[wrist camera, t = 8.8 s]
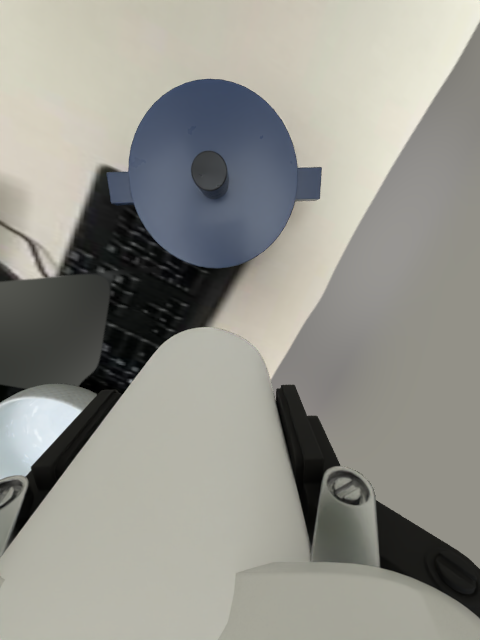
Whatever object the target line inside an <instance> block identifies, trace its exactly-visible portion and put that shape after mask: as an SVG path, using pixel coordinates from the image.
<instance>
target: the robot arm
mask: <svg viewBox="0 0 480 640" xmlns="http://www.w3.org/2000/svg"><path fill="white" fill-rule="evenodd" d="M121 396H122V394H121V393H119V392H118V391H117V390H102V391H100V392H99V393H98V395H97V396H96V397H95V398H94V399H93V400H92V401H91V402H90V403H89V404H88V405H87V406H86V408H85V409H84V410H83V411H82V412H81V413H80V414H79V415H78V416H77V417H76V418H75V419H74V421H73V422H72V423H71V424H70V425H69V426H68V427H67V428H66V429H65V430H64V431H63V432H62V434H61V435H60V436H59V437H58V438H57V439H56V440H55V441H54V442H53V443H52V444H51V445H50V447H49V448H48V449H47V450H46V451H45V452H44V453H43V454H42V455H41V456H40V457H39V458H38V460H37V461H36V462H35V463H34V464H33V465H32V466H31V471H30V472H29V473H28V474H27V476H26V477H25V476H22V475H14V476H9V477H6V478H3V479H0V558H1V556H2V555H3V554H4V552H5V551H6V550H7V548H8V547H9V545H10V544H11V543H12V541H13V540H14V539H15V537H16V536H17V535H18V533H19V532H20V531H21V529H22V528H23V527H24V525H25V524H26V523H27V521H28V520H29V519H30V517H31V516H32V515H33V513H34V512H35V511H36V509H37V508H38V507H39V505H40V504H41V503H42V501H43V500H44V499H45V497H46V496H47V495H48V493H49V492H50V491H51V489H52V488H53V487H54V485H55V484H56V483H57V481H58V480H59V478H60V477H61V476H62V474H63V473H64V472H65V470H66V469H67V468H68V466H69V465H70V464H71V462H72V461H73V460H74V458H75V457H76V456H77V454H78V453H79V452H80V450H81V449H82V448H83V447H84V445H85V444H86V443H87V441H88V440H89V439H90V437H91V436H92V435H93V433H94V432H95V431H96V429H97V428H98V427H99V425H100V424H101V423H102V421H103V420H104V419H105V417H106V416H107V415H108V413H109V412H110V411H111V409H112V408H113V407H114V405H115V404H116V403H117V401H118V400H119V399H120V397H121ZM276 404H277V408H278V412H279V416H280V420H281V425H282V429H283V433H284V437H285V441H286V445H287V449H288V453H289V457H290V461H291V465H292V470H293V474H294V478H295V482H296V486H297V490H298V494H299V498H300V503H301V507H302V511H303V515H304V519H305V523H306V528H307V532H308V536H309V540H310V544H311V548H312V549H311V555H310V561H311V562H272V563H268V564H265V565H261V566H257V567H254V568H251V569H247V570H244V571H241V572H238V573H236V576H235V588H234V595H233V600H232V605H231V610H230V614H229V619H228V623H227V625H226V626H225V628H224V630H223V632H222V633H221V635H220V637H219V638H218V640H480V569H479V568H478V567H477V566H476V565H475V564H474V563H473V562H472V561H471V560H470V559H469V558H467V557H466V556H465V555H463V554H462V553H460V552H459V551H458V550H456V549H454V548H453V547H451V546H450V545H448V544H446V543H445V542H443V541H441V540H440V539H438V538H437V537H435V536H433V535H432V534H430V533H428V532H427V531H425V530H424V529H422V528H420V527H419V526H417V525H415V524H414V523H412V522H411V521H409V520H407V519H406V518H404V517H402V516H401V515H399V514H398V513H396V512H394V511H393V510H391V509H389V508H388V507H386V506H385V505H383V504H381V503H380V502H378V501H376V499H375V492H374V489H373V487H372V485H371V483H370V482H369V481H368V480H367V479H366V478H365V477H364V476H363V475H362V474H360V473H359V472H358V471H356V470H353V469H351V468H348V467H343V466H340V464H339V461H338V460H337V457H336V455H335V453H334V451H333V448H332V446H331V444H330V442H329V440H328V438H327V436H326V434H325V431H324V429H323V427H322V425H321V423H320V421H319V419H318V417H317V416H307V415H306V412H305V410H304V407H303V405H302V402H301V400H300V397H299V395H298V392H297V390H296V387H295V385H281V388H280V389H277V391H276ZM4 581H5V579H3V578H2V577H1V576H0V587H1V585H2V584H3V582H4Z"/></svg>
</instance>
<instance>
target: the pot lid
mask: <svg viewBox="0 0 480 640" xmlns="http://www.w3.org/2000/svg"><path fill="white" fill-rule="evenodd" d="M128 174H129V186H130V191H131V196H132V199H133V202H134V206H135V209H136V211H137V213H138V215H139V218H140V220H141V221H142V223H143V225H144V226H145V228H146V230H147V231H148V232H149V233H150V235H151V236H152V237H153V239H154V240H155V241H156V242H157V243H158V244H159V245H160V246H161V247H163V248H164V249H165V250H166V251H168V252H169V253H170V254H172V255H173V256H175V257H177V258H178V259H180V260H183V261H185V262H187V263H190V264H193V265H196V266H200V267H206V268H226V267H231V266H236V265H239V264H242V263H245V262H247V261H249V260H251V259H253V258H255V257H256V256H258V255H259V254H261V253H262V252H263V251H265V250H266V249H267V248H268V247H269V246H270V245H271V244H272V243H273V242H274V241H275V240H276V239H277V237H278V236H279V235H280V233H281V232H282V230H283V229H284V227H285V226H286V223H287V221H288V219H289V217H290V215H291V212H292V209H293V206H294V203H295V198H296V194H297V185H298V167H297V160H296V154H295V151H294V147H293V143H292V141H291V138H290V136H289V133H288V131H287V129H286V127H285V125H284V124H283V122H282V120H281V119H280V117H279V116H278V115H277V113H276V112H275V111H274V109H273V108H272V107H271V106H270V105H269V104H268V103H267V102H266V101H265V100H264V99H262V98H261V97H260V96H259V95H257V94H256V93H254V92H253V91H251V90H249V89H248V88H246V87H244V86H241V85H239V84H236V83H234V82H230V81H225V80H220V79H202V80H195V81H191V82H188V83H184V84H182V85H180V86H178V87H175V88H173V89H172V90H170V91H169V92H167V93H166V94H164V95H163V96H162V97H161V98H160V99H158V100H157V101H156V102H155V103H154V104H153V105H152V107H151V108H150V109H149V110H148V111H147V113H146V114H145V116H144V117H143V119H142V121H141V122H140V124H139V126H138V128H137V131H136V133H135V135H134V139H133V142H132V145H131V150H130V156H129V170H128Z"/></svg>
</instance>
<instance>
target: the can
mask: <svg viewBox="0 0 480 640" xmlns="http://www.w3.org/2000/svg"><path fill="white" fill-rule="evenodd" d="M311 549H312V548H311V544H310V540H309V536H308V532H307V528H306V523H305V519H304V515H303V511H302V507H301V503H300V498H299V494H298V490H297V486H296V482H295V478H294V474H293V470H292V465H291V461H290V457H289V453H288V449H287V445H286V441H285V437H284V433H283V429H282V425H281V420H280V416H279V412H278V408H277V404H276V400H275V396H274V393H273V388H272V385H271V381H270V377H269V373H268V370H267V367H266V365H265V362H264V360H263V358H262V356H261V355H260V353H259V352H258V350H257V349H256V348H255V347H254V346H253V345H252V344H251V343H249V342H248V341H247V340H245V339H244V338H242V337H240V336H238V335H236V334H234V333H231V332H229V331H226V330H223V329H219V328H211V327H201V328H194V329H189V330H186V331H183V332H180V333H178V334H176V335H174V336H173V337H171V338H169V339H168V340H167V341H165V342H164V343H163V344H162V345H161V346H160V347H159V348H158V349H157V351H156V352H155V353H154V354H153V355H152V357H151V358H150V359H149V361H148V362H147V363H146V364H145V366H144V367H143V368H142V370H141V371H140V372H139V374H138V375H137V376H136V378H135V379H134V380H133V382H132V383H131V384H130V385H129V387H128V388H127V389H126V391H125V392H124V393H123V395H122V396H121V397H120V399H119V400H118V401H117V403H116V404H115V405H114V407H113V408H112V409H111V411H110V412H109V413H108V415H107V416H106V417H105V419H104V420H103V421H102V423H101V424H100V425H99V427H98V428H97V429H96V431H95V432H94V433H93V435H92V436H91V437H90V439H89V440H88V441H87V443H86V444H85V445H84V447H83V448H82V449H81V450H80V452H79V453H78V454H77V456H76V457H75V458H74V460H73V461H72V462H71V464H70V465H69V466H68V468H67V469H66V470H65V472H64V473H63V474H62V476H61V477H60V478H59V480H58V481H57V483H56V484H55V485H54V487H53V488H52V489H51V491H50V492H49V493H48V495H47V496H46V497H45V499H44V500H43V501H42V503H41V504H40V505H39V507H38V508H37V509H36V511H35V512H34V513H33V515H32V516H31V517H30V519H29V520H28V521H27V523H26V524H25V525H24V527H23V528H22V529H21V531H20V532H19V533H18V535H17V536H16V537H15V539H14V540H13V541H12V543H11V544H10V545H9V547H8V548H7V550H6V551H5V552H4V554H3V555H2V556H1V558H0V576H1V577H2V578H3V579H5V581H4V582H3V584H2V585H1V587H0V640H218V638H219V637H220V635H221V633H222V632H223V630H224V628H225V626H226V625H227V623H228V619H229V614H230V610H231V605H232V600H233V595H234V588H235V576H236V573H238V572H241V571H244V570H247V569H251V568H254V567H257V566H261V565H265V564H268V563H272V562H311V561H310V555H311Z"/></svg>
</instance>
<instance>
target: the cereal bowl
mask: <svg viewBox="0 0 480 640" xmlns="http://www.w3.org/2000/svg"><path fill="white" fill-rule="evenodd" d="M96 396H97V394H96V393H93V392H92V391H90V390H87V389H85V388H82V387H78V386H75V385H68V384H45V385H40V386H35V387H32V388H29V389H26V390H23V391H21V392H19V393H17V394H15V395H13V396H11V397H9V398H8V399H6V400H4V401H3V402H1V403H0V479H3V478H6V477H9V476H14V475H22V476H25V477H26V476H27V474H28V473H29V472H30V471H31V466H32V465H33V464H34V463H35V462H36V461H37V460H38V458H39V457H40V456H41V455H42V454H43V453H44V452H45V451H46V450H47V449H48V448H49V447H50V445H51V444H52V443H53V442H54V441H55V440H56V439H57V438H58V437H59V436H60V435H61V434H62V432H63V431H64V430H65V429H66V428H67V427H68V426H69V425H70V424H71V423H72V422H73V421H74V419H75V418H76V417H77V416H78V415H79V414H80V413H81V412H82V411H83V410H84V409H85V408H86V406H87V405H88V404H89V403H90V402H91V401H92V400H93V399H94V398H95V397H96Z"/></svg>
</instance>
